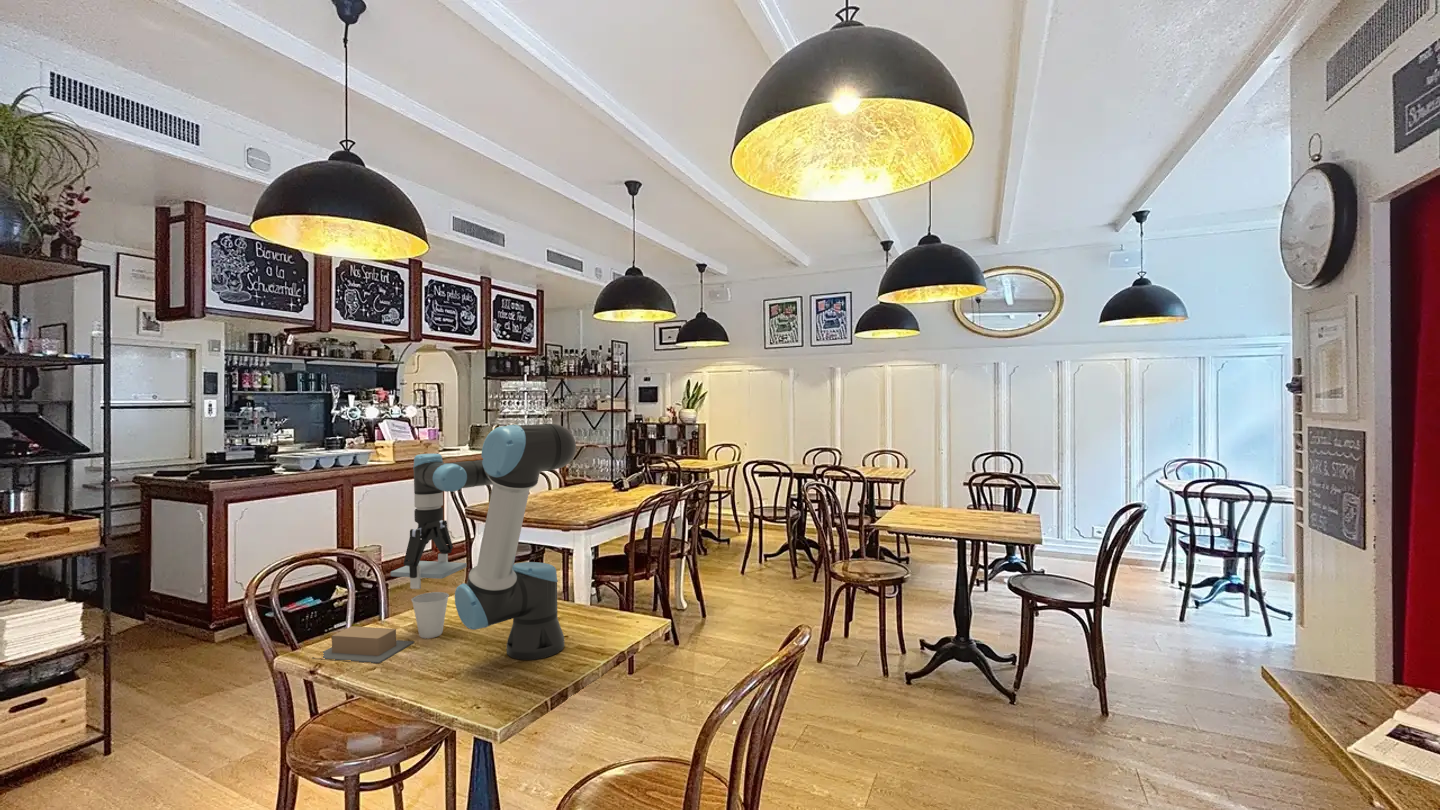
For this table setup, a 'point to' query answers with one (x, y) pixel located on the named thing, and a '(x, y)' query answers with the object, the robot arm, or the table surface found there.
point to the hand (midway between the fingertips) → (429, 581)
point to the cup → (430, 613)
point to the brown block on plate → (365, 644)
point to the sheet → (431, 569)
